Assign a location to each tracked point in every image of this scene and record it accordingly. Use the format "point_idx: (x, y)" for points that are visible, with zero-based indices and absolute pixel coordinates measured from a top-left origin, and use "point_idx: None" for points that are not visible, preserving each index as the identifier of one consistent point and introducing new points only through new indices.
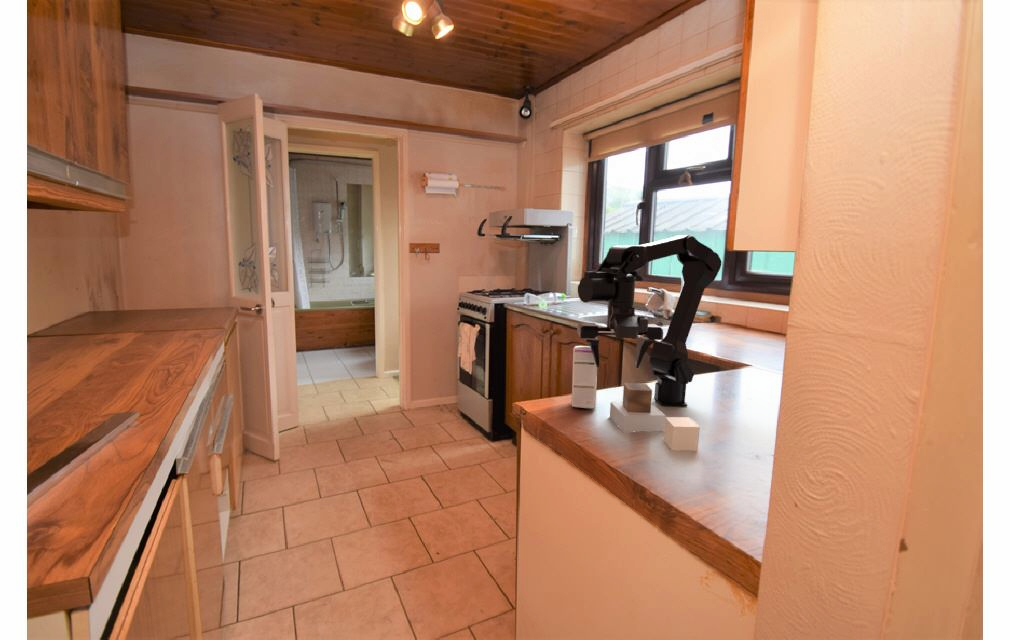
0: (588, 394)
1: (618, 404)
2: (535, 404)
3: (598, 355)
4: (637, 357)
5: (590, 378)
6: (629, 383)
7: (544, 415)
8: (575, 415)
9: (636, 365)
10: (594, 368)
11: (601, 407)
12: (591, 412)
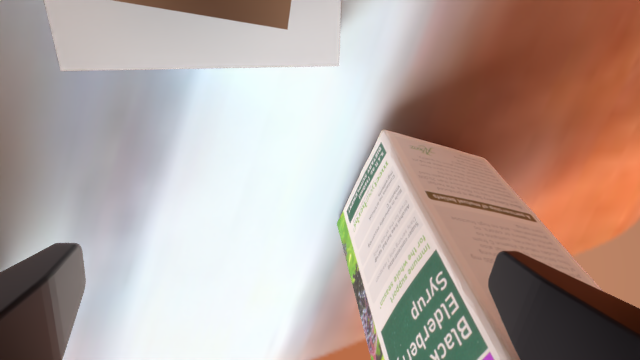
0: (438, 174)
1: (303, 10)
2: (592, 218)
3: (622, 323)
4: (10, 352)
5: (472, 237)
6: (232, 9)
7: (620, 86)
8: (486, 80)
9: (70, 264)
10: (483, 292)
11: (318, 185)
12: (393, 119)
